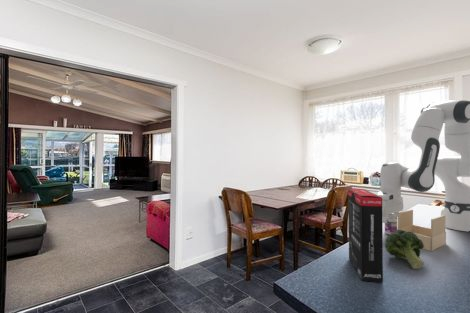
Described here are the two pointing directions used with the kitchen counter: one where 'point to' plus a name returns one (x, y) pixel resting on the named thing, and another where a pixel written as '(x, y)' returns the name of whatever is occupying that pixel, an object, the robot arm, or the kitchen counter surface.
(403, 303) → the kitchen counter surface
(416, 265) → the vegetable
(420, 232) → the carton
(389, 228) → the pill bottle
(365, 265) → the graphics card box
